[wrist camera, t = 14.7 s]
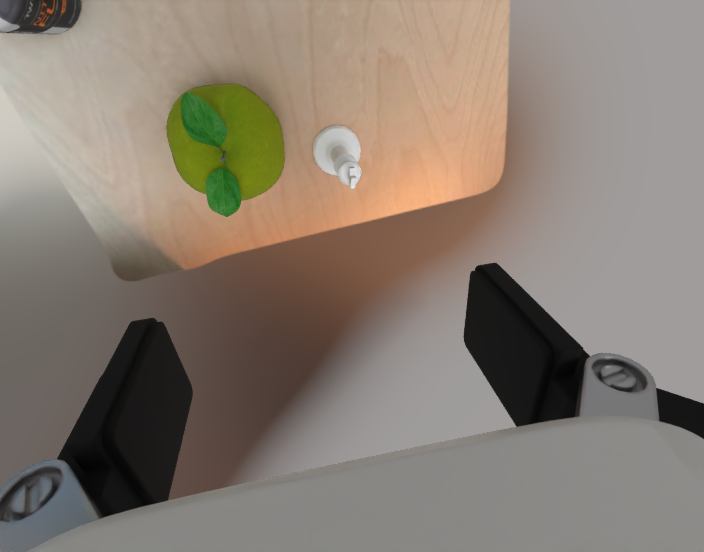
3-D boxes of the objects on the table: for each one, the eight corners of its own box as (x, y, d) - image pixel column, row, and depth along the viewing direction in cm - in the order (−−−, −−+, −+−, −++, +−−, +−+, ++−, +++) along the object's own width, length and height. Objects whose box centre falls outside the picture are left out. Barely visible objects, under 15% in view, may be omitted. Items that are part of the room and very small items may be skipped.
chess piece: (359, 123, 38) (384, 147, 29) (360, 172, 40) (383, 206, 32) (310, 126, 37) (321, 151, 29) (314, 176, 40) (325, 212, 31)
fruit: (196, 184, 38) (175, 225, 30) (170, 81, 33) (135, 95, 25) (288, 177, 39) (292, 214, 31) (275, 76, 34) (276, 88, 26)
